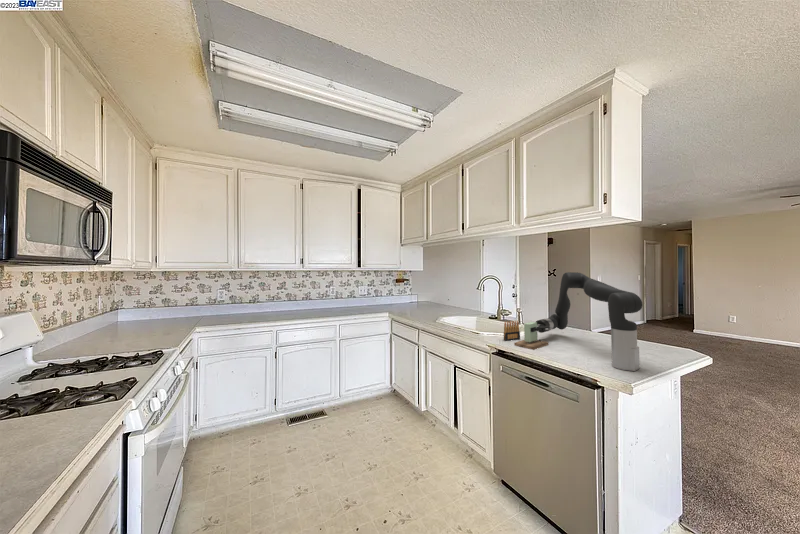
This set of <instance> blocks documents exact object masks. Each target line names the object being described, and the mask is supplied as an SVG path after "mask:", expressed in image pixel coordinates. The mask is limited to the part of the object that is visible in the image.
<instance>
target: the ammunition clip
mask: <svg viewBox="0 0 800 534" xmlns="http://www.w3.org/2000/svg"><path fill="white" fill-rule="evenodd" d="M503 324H504V326H503V342H512V341H521V331H520V325H519V320H512V321H511V320H510V321H508V320H507V321H504V323H503ZM511 340H512V341H511Z"/></svg>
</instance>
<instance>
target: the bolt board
mask: <svg viewBox="0 0 800 534" xmlns="http://www.w3.org/2000/svg"><path fill="white" fill-rule="evenodd" d="M513 345H514V346H516V347H519V348H524V349H528V350H533V351H535V350H538V349H540V348H543V347H546V346H549V341H545V340H544V341H543V340H540V339H539V340H535V341H532V342H526V341H525V339H522V340H518V341H516V342H514V343H513ZM537 348H538V349H537Z"/></svg>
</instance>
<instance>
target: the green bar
mask: <svg viewBox="0 0 800 534" xmlns="http://www.w3.org/2000/svg"><path fill="white" fill-rule="evenodd" d="M536 326H537V323H536V321H530V322H525V323H523V327H524V328H523V331H524V332H523V333H524V337H523V338H524V340H525V341H526V342H532V341H535V340H538V331H537V332H536V331H535V332H531V328H533V327H536Z"/></svg>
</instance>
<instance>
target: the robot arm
mask: <svg viewBox="0 0 800 534" xmlns="http://www.w3.org/2000/svg"><path fill="white" fill-rule="evenodd" d="M569 289H581V290H583V292H584V294H585V295H586V296H588V297H589V298H591V299H593V300H596V301H599V302H603V303H604V302H605V303H607V308H608V310H607V311H608V319H609V323H610V339H611V341H610V342H611V343H610V345H611V346H610V347H611V349H610V350H611V366H612V368H613V367H614V368H615V369H618V370H623V371H630V372H631V371H633V372H636V371H637V370H640V367H641V366H640V347H639V345H638V327H637V326H638V325H637V323H636V322H634V321H631V320H628V319H626V316H625V314H635V313H639V312H640V311H641V310H642V309H643V301H642V298H641V297H640V296H639V295H638V294H636V293H635V292H631V291H627V290H622V289H620V288H617V287H614V286H612V285H609V284H607V283H605V282H602V281H599V280H597V279H594V278H590V277H589V276H587V275H586V274H584V273H582V272H570V271H567V272H564V273H563V275H562V276H561V280H560V288H559V296H558V301H557V305H556V307H555V310H554V312H555V313H553V314H551V315H550V317H547V318H542V319H539V320H536V321H535V322H536V323H537V326H536V327H533V328H531V332H535V331H536V332H537V333H540V334H542V333H545V332H549V331H552V330H555V329H556V328H557V329H559V330H565V329H566V328H567V326H568V323H569V322H568V320H569V319H568V316H569V315H568V314H569V311H570V309H571V301H570V298H569V296H568V291H569Z"/></svg>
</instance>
